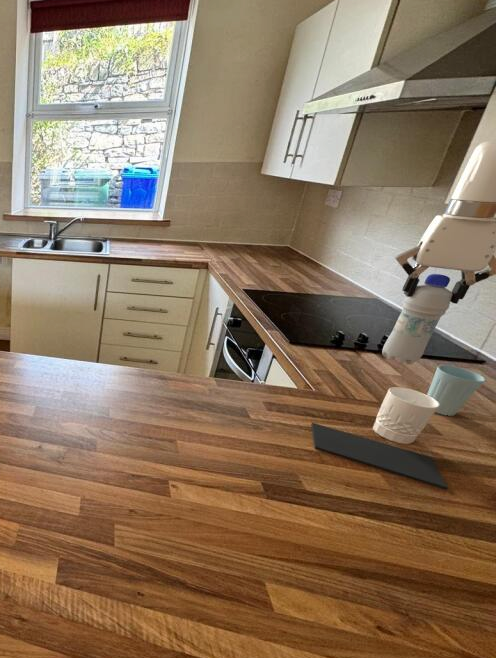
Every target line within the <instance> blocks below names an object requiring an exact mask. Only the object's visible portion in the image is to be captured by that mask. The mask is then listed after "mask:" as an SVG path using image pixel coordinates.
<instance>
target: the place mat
mask: <svg viewBox="0 0 496 658" xmlns="http://www.w3.org/2000/svg"><path fill="white" fill-rule="evenodd" d="M310 426H311V431H312V439H313V446H314V449H315V450H318V451H322V452H325V453H329V454H331V455H335V456H338V457H341V458H344V459H348V460H351V461H354V462H357V463H360V464H363V465H367V466H369V467H373V468H376V469H379V470H383V471H386V472H389V473H392V474H396V475H399V476H401V477H405V478H409V479H411V480H415V481H417V482H420V483H425V484H428V485H431V486H434V487H437V488H439V489H444V490H446V491H447V490H448V489H449V487H448V484H447V483H446V481H445V479H444V477H443V475H442V473H441V471H440V469H439V468H438V465H437V464H436V461H435V460H434V458H433V457H432V456H429V455H427V454H423V453H420V452H416V451H412V450H410V449H406V448H405V449H404V448H402V447H399V446H395V445H392V444H388V443H384V442H381V441H377V440H374V439H371V438H367V437H364V436H360V435H357V434H353V433H350V432H347V431H343V430H339V429H336V428H332V427H329V426H325V425H321V424H319V423H315V422H311V425H310Z"/></svg>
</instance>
